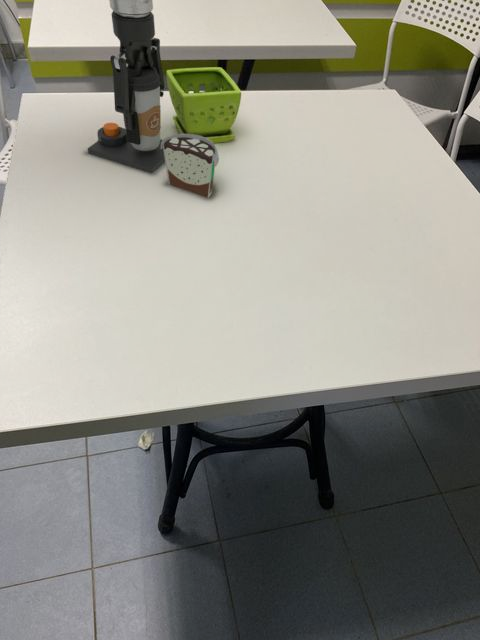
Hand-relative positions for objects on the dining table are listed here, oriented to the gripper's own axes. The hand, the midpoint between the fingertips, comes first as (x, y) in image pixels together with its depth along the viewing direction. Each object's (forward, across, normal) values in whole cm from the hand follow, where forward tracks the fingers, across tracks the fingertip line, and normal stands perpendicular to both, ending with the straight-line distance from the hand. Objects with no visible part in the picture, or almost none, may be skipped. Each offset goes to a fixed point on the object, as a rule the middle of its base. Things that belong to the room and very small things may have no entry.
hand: (144, 134), depth 106 cm
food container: (+5, -5, -15) cm, 17 cm away
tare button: (+2, 0, +8) cm, 9 cm away
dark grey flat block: (+5, 0, +3) cm, 6 cm away
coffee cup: (+2, 0, 0) cm, 2 cm away
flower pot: (+5, +16, -6) cm, 18 cm away
